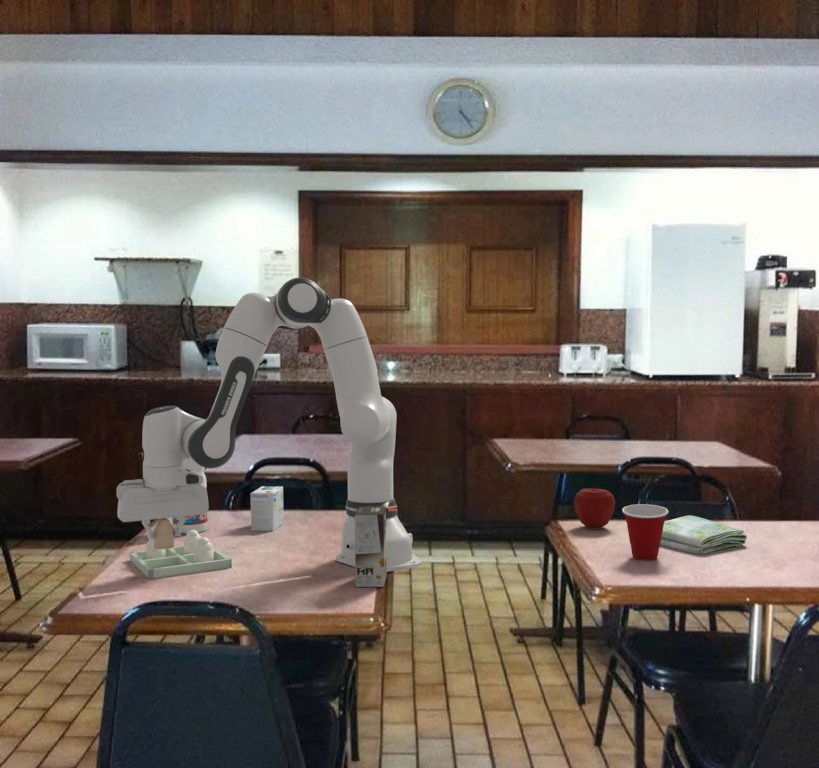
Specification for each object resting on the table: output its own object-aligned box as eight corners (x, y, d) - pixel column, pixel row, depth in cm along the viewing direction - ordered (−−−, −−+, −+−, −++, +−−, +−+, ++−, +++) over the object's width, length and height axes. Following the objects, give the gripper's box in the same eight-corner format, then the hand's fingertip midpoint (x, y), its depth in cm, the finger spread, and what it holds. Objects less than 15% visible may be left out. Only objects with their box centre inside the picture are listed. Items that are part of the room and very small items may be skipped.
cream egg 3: (216, 566, 220) (215, 537, 220) (197, 568, 218) (197, 540, 217) (210, 562, 224) (210, 534, 223) (192, 564, 222) (191, 536, 221)
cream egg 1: (167, 562, 223) (167, 535, 223) (149, 565, 221) (148, 537, 221) (163, 558, 227) (162, 531, 227) (144, 561, 225) (143, 533, 225)
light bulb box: (261, 522, 270) (261, 485, 270) (284, 523, 270) (283, 486, 269) (250, 531, 260) (249, 492, 259) (273, 531, 259) (273, 492, 258)
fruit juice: (210, 526, 266) (207, 427, 264) (205, 533, 257) (202, 431, 255) (176, 527, 266) (173, 428, 264) (170, 534, 256) (167, 432, 254)
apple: (621, 527, 260) (621, 485, 260) (601, 533, 252) (602, 490, 252) (586, 521, 268) (587, 481, 267) (566, 528, 260) (566, 486, 259)
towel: (701, 557, 228) (701, 536, 228) (636, 540, 246) (636, 521, 246) (749, 547, 238) (750, 527, 238) (684, 531, 256) (684, 513, 256)
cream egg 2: (204, 558, 228) (204, 530, 227) (186, 560, 226) (186, 532, 225) (199, 554, 232) (199, 527, 231) (181, 556, 230) (181, 529, 229)
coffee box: (384, 587, 203) (383, 514, 202) (355, 587, 203) (354, 514, 202) (387, 576, 212) (386, 505, 211) (358, 576, 213) (357, 505, 212)
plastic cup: (618, 561, 223) (619, 511, 223) (624, 550, 234) (625, 503, 233) (666, 565, 220) (666, 514, 219) (669, 554, 230) (670, 505, 229)
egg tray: (231, 569, 219) (231, 559, 219) (149, 581, 210) (149, 570, 210) (207, 552, 235) (207, 542, 235) (130, 562, 226) (129, 552, 226)
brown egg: (176, 547, 216) (175, 518, 215) (156, 550, 213) (156, 520, 213) (171, 543, 219) (170, 515, 219) (152, 546, 217) (151, 517, 217)
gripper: (119, 483, 207) (120, 545, 208) (210, 475, 217) (211, 534, 218) (113, 478, 213) (114, 539, 214) (202, 471, 223) (203, 529, 224)
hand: (164, 537), depth 216 cm, fingers closed on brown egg, 4 cm apart
